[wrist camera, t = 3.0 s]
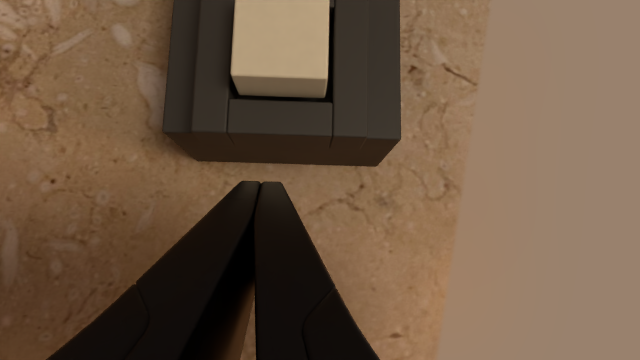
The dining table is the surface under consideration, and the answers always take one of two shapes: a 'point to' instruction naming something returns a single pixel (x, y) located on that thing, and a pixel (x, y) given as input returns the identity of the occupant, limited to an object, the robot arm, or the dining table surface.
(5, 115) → the dining table surface
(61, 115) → the dining table surface
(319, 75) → the key low
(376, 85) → the block low
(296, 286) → the robot arm
